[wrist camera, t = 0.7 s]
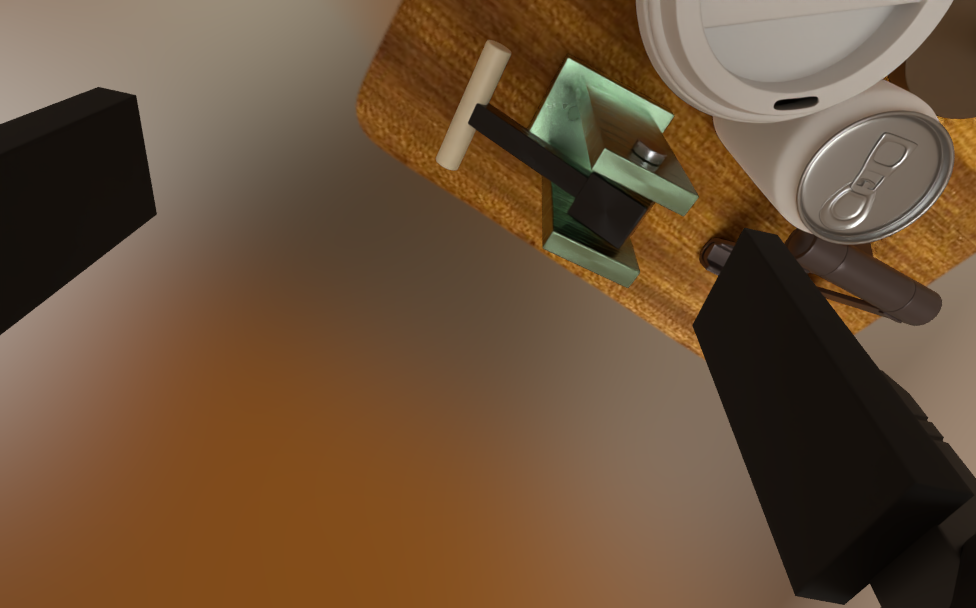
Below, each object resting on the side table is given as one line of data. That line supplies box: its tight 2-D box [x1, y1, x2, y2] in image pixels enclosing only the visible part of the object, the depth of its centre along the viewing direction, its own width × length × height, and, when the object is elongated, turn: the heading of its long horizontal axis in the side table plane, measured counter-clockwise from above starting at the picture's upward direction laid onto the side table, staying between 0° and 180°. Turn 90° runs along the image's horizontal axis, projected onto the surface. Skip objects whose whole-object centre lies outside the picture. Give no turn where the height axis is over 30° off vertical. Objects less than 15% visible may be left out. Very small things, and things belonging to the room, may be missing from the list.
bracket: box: [528, 53, 699, 288], centre depth 28 cm, size 7×6×13 cm
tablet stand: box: [699, 228, 942, 326], centre depth 33 cm, size 9×8×8 cm
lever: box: [436, 40, 656, 249], centre depth 25 cm, size 10×6×2 cm, turn 64°
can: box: [713, 79, 954, 245], centre depth 27 cm, size 6×6×12 cm
